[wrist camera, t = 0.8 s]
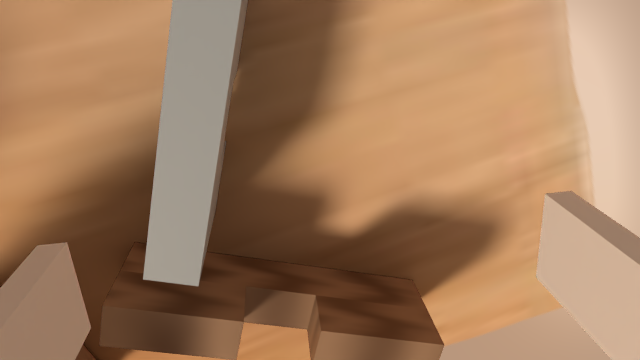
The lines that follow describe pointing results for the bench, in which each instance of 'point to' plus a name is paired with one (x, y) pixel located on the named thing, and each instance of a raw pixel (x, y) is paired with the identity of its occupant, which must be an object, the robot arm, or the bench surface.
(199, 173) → the notched plate
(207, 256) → the slotted beam
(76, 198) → the bench surface
